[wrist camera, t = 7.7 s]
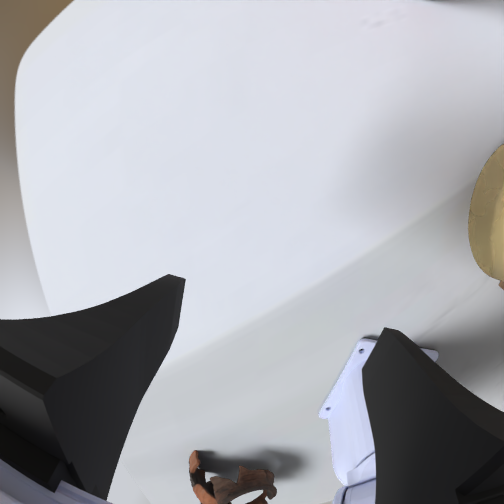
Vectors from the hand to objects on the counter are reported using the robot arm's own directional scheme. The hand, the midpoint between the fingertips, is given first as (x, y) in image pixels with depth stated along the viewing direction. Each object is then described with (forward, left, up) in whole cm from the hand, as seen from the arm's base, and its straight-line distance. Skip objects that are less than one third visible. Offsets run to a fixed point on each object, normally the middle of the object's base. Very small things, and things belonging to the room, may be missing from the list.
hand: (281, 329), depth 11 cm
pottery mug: (-30, -2, -11) cm, 31 cm away
